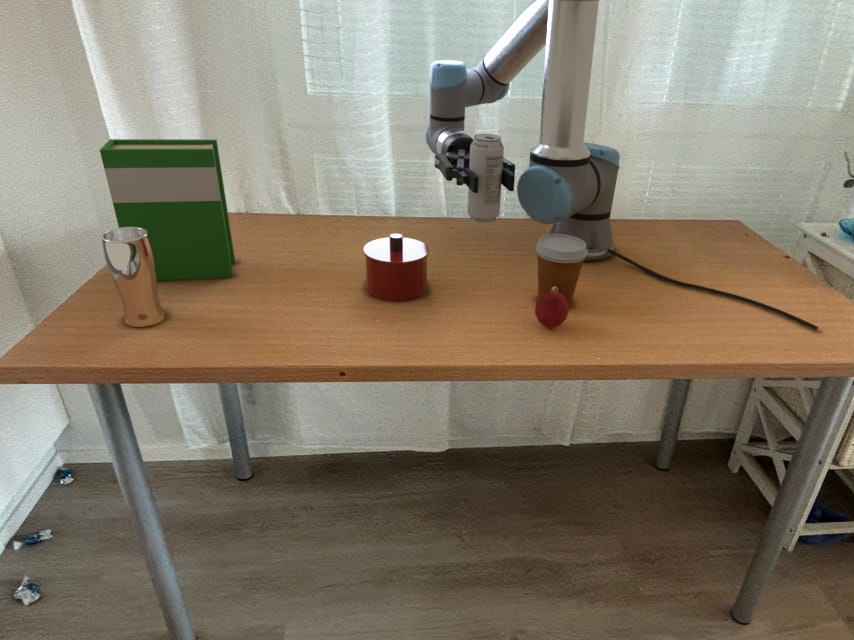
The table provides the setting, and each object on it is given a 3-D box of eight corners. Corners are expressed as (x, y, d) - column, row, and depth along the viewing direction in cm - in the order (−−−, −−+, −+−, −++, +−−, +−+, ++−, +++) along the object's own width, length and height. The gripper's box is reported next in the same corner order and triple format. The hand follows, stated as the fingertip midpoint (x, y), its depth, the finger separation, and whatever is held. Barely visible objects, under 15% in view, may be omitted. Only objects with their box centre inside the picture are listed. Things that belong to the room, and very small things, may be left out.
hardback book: (235, 261, 130) (216, 139, 117) (232, 277, 124) (212, 149, 111) (139, 265, 126) (109, 139, 113) (132, 281, 120) (99, 150, 107)
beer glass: (139, 333, 104) (116, 245, 96) (113, 320, 107) (89, 234, 99) (176, 317, 109) (158, 233, 102) (151, 305, 112) (131, 223, 104)
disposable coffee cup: (546, 317, 117) (554, 255, 111) (520, 295, 124) (526, 236, 118) (589, 308, 121) (599, 248, 115) (561, 288, 128) (569, 230, 122)
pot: (419, 273, 130) (419, 238, 126) (432, 298, 121) (433, 261, 117) (362, 277, 127) (361, 242, 123) (372, 303, 118) (370, 265, 114)
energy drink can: (483, 211, 125) (487, 131, 118) (505, 219, 122) (511, 138, 114) (460, 217, 122) (463, 135, 114) (482, 226, 118) (487, 142, 110)
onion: (564, 338, 111) (570, 297, 106) (530, 333, 112) (535, 292, 107) (567, 323, 116) (572, 282, 111) (535, 318, 116) (540, 278, 112)
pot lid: (420, 240, 127) (421, 222, 125) (436, 265, 117) (436, 246, 115) (358, 244, 123) (357, 225, 122) (369, 270, 114) (368, 250, 112)
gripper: (501, 168, 137) (542, 202, 118) (413, 171, 131) (441, 207, 113) (503, 131, 133) (546, 161, 114) (413, 133, 128) (442, 164, 109)
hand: (494, 184), depth 114 cm, fingers closed on energy drink can, 6 cm apart
